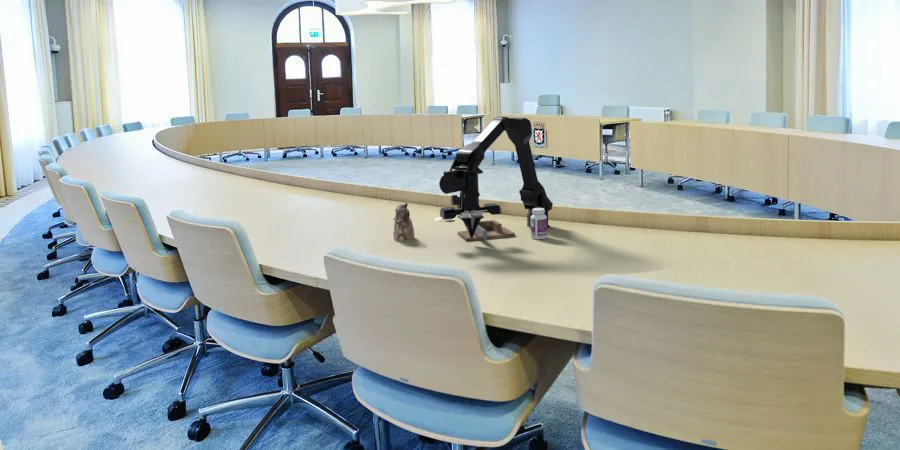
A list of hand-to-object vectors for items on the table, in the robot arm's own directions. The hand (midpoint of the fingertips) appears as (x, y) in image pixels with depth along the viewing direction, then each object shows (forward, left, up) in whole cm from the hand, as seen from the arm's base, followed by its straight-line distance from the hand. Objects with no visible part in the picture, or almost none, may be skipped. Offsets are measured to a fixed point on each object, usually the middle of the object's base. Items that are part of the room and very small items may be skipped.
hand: (471, 237), depth 221 cm
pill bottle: (-23, -1, -3) cm, 23 cm away
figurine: (+19, -18, -3) cm, 26 cm away
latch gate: (-4, -3, -1) cm, 5 cm away
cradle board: (-8, -11, -2) cm, 14 cm away
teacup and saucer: (+1, -42, -3) cm, 42 cm away
